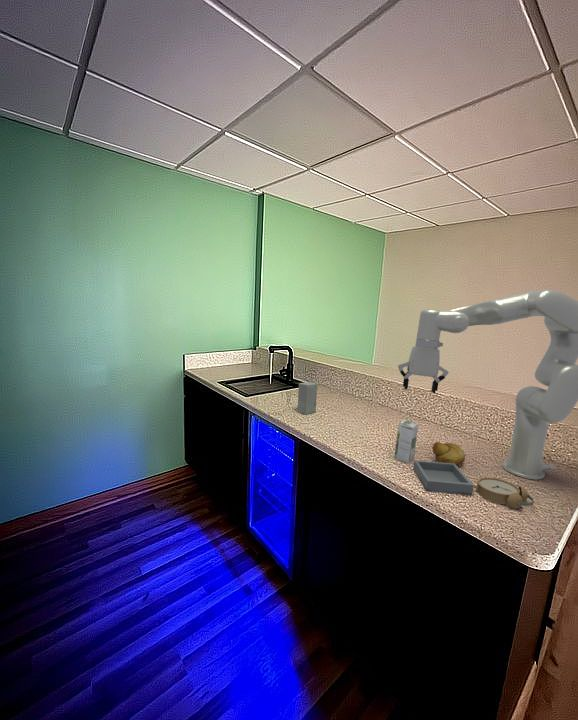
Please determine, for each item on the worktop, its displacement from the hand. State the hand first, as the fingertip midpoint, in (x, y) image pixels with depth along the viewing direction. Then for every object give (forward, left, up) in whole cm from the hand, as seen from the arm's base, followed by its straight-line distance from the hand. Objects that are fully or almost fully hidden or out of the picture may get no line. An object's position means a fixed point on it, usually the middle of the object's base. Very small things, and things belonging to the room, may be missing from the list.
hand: (419, 390), depth 118 cm
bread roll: (-15, 0, -28) cm, 31 cm away
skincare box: (+41, -47, -28) cm, 69 cm away
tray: (-6, +15, -27) cm, 31 cm away
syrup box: (+2, 0, -28) cm, 28 cm away
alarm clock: (-22, +22, -28) cm, 41 cm away
